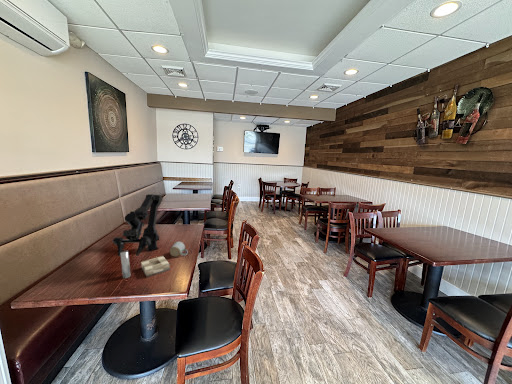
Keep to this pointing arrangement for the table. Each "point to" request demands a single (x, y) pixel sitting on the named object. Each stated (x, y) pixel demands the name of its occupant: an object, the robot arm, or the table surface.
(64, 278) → the table surface
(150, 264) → the socket block
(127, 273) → the steel pin
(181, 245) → the ceramic mug
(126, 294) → the table surface
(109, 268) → the table surface
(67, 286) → the table surface
